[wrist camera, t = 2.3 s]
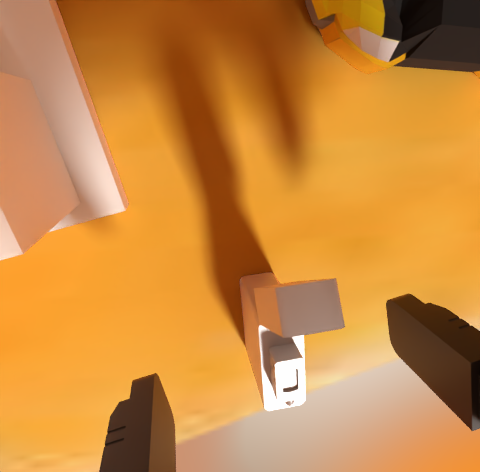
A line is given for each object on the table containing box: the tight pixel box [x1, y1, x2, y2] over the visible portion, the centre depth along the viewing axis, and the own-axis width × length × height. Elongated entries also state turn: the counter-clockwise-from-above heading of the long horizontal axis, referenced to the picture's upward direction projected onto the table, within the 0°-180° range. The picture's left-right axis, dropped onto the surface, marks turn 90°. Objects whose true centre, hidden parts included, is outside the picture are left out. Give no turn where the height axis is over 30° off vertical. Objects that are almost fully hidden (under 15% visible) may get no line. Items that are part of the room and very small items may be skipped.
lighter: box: [240, 272, 345, 411], centre depth 14 cm, size 7×2×8 cm, turn 5°
